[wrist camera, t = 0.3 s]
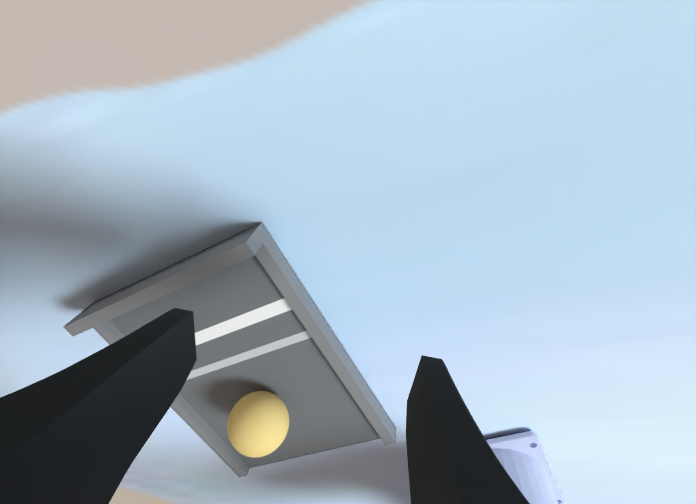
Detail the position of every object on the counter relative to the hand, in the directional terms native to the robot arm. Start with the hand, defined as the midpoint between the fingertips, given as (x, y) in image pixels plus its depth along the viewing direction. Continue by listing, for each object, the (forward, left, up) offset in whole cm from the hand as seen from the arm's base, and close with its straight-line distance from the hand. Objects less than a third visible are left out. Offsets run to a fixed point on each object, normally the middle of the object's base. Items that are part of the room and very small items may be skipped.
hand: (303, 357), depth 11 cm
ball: (-9, +11, -9) cm, 17 cm away
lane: (-7, +11, -10) cm, 16 cm away
